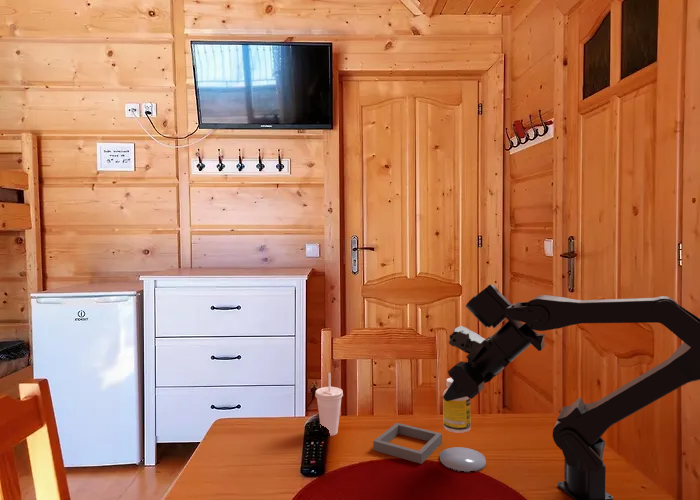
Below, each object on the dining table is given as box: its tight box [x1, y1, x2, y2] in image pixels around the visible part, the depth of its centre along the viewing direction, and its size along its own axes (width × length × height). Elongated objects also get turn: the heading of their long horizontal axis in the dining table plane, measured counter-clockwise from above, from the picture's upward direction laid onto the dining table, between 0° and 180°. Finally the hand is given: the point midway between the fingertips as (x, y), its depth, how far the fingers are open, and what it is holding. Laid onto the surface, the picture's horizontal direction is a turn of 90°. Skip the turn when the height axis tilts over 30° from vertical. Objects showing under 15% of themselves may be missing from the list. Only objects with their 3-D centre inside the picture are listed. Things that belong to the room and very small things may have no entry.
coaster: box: [439, 446, 487, 473], centre depth 93 cm, size 9×9×1 cm
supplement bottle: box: [442, 377, 472, 434], centre depth 93 cm, size 5×5×10 cm
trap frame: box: [372, 422, 443, 465], centre depth 99 cm, size 11×11×2 cm
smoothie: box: [314, 372, 344, 437], centre depth 106 cm, size 6×6×14 cm
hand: (450, 394), depth 94 cm, fingers closed on supplement bottle, 5 cm apart
